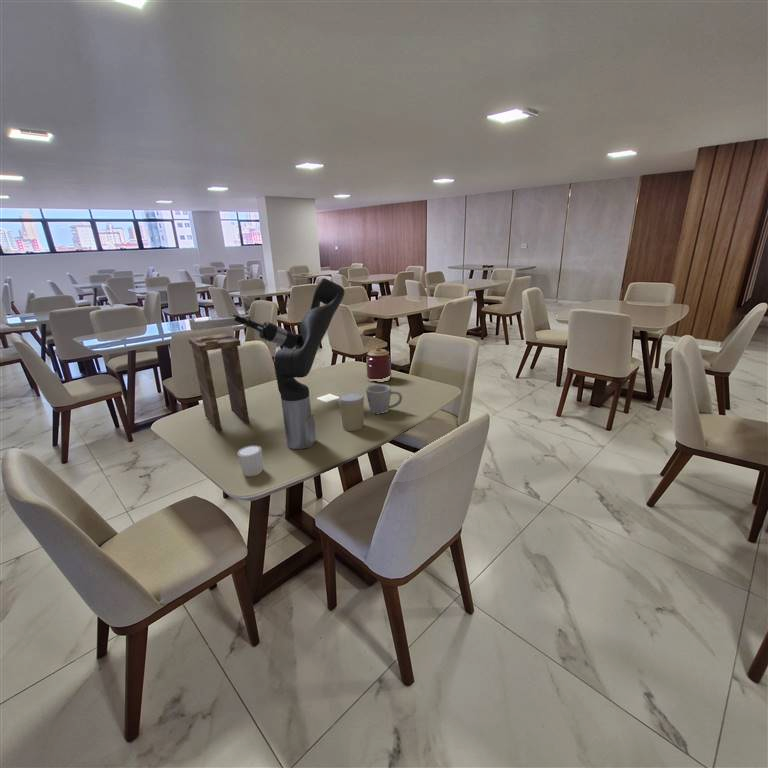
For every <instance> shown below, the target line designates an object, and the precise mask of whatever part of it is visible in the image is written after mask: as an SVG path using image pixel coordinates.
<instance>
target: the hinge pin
mask: <svg viewBox="0 0 768 768" xmlns="http://www.w3.org/2000/svg"><path fill="white" fill-rule="evenodd" d="M239 316H240V315H239ZM240 317H242V318H244V319H248V320H252V316H251V315H241V316H240ZM188 322H189V326H190V330H191V331H192V332H194V331H195V332H196V331H200V330H201V331H202V330H211V329H219V328H226V327H232V326H235V327H236V326H241V325H243V324H242V323H239V322H237V321H235V317H233V316H231V317H230V316H229V317H222V318H212V319H203V320H195V319H193V318H189V319H188ZM243 326H244V325H243Z"/></svg>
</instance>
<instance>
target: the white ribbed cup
mask: <svg viewBox="0 0 768 768" xmlns="http://www.w3.org/2000/svg"><path fill="white" fill-rule="evenodd" d="M262 452H263V449H262V447H261V446H259V445H247V446H244V447H242V448H240V449H239V450H237V456H238V457H237V458H238V461H239V465H240V468H241V470H242V474H243V475H244V476H246V477H254V476H257V475H260V474H261V473H262V471H263V453H262Z"/></svg>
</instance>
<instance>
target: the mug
mask: <svg viewBox="0 0 768 768" xmlns="http://www.w3.org/2000/svg"><path fill="white" fill-rule="evenodd" d="M365 392H366V396H367V397H366V398H367V401H368V406H369V412H370V413H371V412H374V413H382V412H385V411H387V410H388V409H389V410H390V409H393V408H396V407H397V406H399V405H400V404H401V403H402V401H403V396H402V394H401V393H400V391H395V390H393V391H392V387H391V386H390V385H387V384H381V383H380V384H372V385H369V386H367V387H365ZM393 394H394V395H398V396H399V399H398V400H397V402H395V403H394V404H391V405H390V401H391V395H393ZM374 413H373V414H374Z"/></svg>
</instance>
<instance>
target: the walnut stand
mask: <svg viewBox="0 0 768 768" xmlns="http://www.w3.org/2000/svg"><path fill="white" fill-rule="evenodd" d="M188 342H189V343H188V344H189V345H191V349H192V355H193V359H194V365H195V369H196V375H197V379H198V380H197V381H198V385H199V389H200V395H201V400H202V406H203V410H204V416H205V418H206V417H207V418H206V420H207V421H208V420H209V421H210V422H209V421H208V422H209V424H210V425H211V424H212V425H211V426H212V427H213V429H214V428H215V429H214V430H215V431H216V432H218V430H219V431H222V423H221V417H220V412H219V405H218V401H217V397H216V392H215V385H214V379H213V375H212V369H211V363H210V359H209V352H208V351H215V350H221V356H222V357H221V358H222V361H223V362H222V363H223V368H224V375H225V379H226V385H227V391H228V398H229V402H230V403H229V404H230V408H231V412H232V411H233V412H234V413H235V414H236V415H237V416H238V417H239V418H240V419H241V420H240V421H241V422H242V423H243V424H244V423H245V424H248V422H249V423H250V418H249V411H248V405H247V399H246V392H245V386H244V380H243V379H244V378H243V374H242V367H241V360H240V355H239V349H238V348H239V347H240V346H241V340H240V339H239V338H236V337H234V336H232V335H230V334H227V333H219V334H210V335H204V336H197V337H188ZM233 412H232V413H233ZM234 413H233V414H234ZM235 414H234V415H235ZM236 415H235V416H236ZM237 416H236V417H237ZM238 417H237V418H238ZM239 418H238V419H239Z"/></svg>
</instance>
